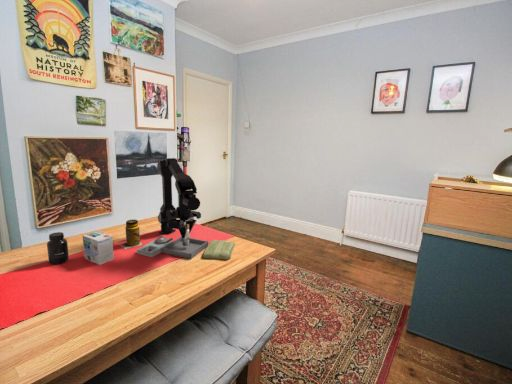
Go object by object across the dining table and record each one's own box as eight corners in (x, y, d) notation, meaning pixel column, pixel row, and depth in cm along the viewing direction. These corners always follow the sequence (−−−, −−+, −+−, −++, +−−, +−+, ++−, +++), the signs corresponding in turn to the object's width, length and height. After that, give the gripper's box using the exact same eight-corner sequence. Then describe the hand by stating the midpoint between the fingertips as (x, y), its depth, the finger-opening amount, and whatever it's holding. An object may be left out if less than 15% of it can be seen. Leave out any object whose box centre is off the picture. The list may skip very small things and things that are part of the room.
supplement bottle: (58, 266, 108) (55, 238, 105) (44, 263, 109) (40, 236, 106) (73, 258, 114) (70, 232, 112) (60, 256, 116) (56, 230, 113)
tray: (181, 240, 137) (181, 236, 136) (207, 246, 132) (207, 241, 131) (162, 252, 123) (162, 247, 122) (190, 259, 118) (190, 253, 117)
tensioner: (159, 240, 136) (159, 234, 135) (174, 243, 133) (174, 237, 132) (136, 253, 121) (136, 246, 120) (152, 257, 118) (152, 250, 117)
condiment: (143, 244, 131) (141, 221, 128) (124, 249, 125) (123, 225, 122) (137, 240, 136) (136, 217, 133) (119, 244, 130) (117, 221, 127)
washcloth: (235, 245, 135) (235, 239, 135) (229, 261, 118) (230, 254, 117) (210, 243, 136) (210, 237, 135) (200, 259, 119) (200, 252, 118)
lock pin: (184, 242, 129) (184, 223, 127) (191, 243, 128) (190, 224, 126) (180, 245, 126) (180, 225, 124) (186, 246, 125) (186, 226, 123)
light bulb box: (84, 258, 114) (81, 235, 112) (99, 253, 120) (97, 230, 118) (99, 265, 110) (97, 240, 107) (114, 258, 115) (112, 235, 113)
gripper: (182, 198, 134) (182, 227, 137) (156, 207, 116) (158, 240, 120) (201, 201, 130) (201, 231, 134) (178, 210, 113) (179, 245, 116)
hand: (185, 236), depth 126 cm, fingers closed on lock pin, 3 cm apart
